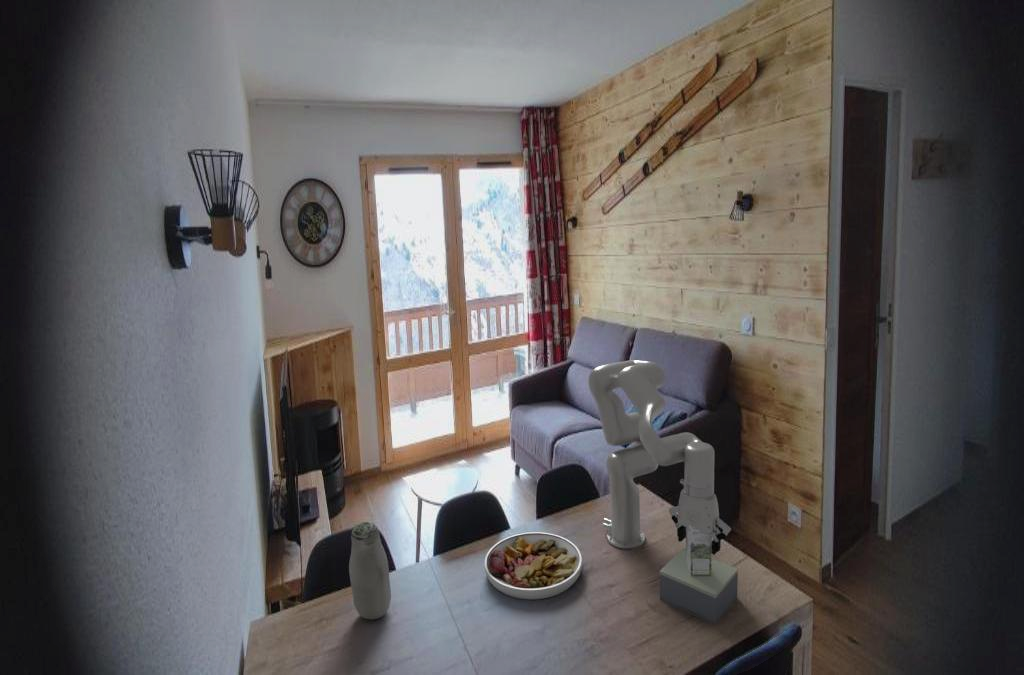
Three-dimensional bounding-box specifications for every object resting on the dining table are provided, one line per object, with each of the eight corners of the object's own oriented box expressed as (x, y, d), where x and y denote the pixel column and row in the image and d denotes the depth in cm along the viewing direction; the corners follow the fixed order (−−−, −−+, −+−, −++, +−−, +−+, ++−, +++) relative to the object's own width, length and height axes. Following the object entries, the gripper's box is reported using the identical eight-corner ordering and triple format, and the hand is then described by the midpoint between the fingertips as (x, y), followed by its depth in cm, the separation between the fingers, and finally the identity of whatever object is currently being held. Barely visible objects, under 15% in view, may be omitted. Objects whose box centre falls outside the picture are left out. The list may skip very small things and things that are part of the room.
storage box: (659, 599, 155) (659, 574, 153) (683, 575, 164) (683, 551, 163) (715, 625, 144) (715, 598, 142) (737, 598, 153) (737, 572, 152)
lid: (659, 573, 153) (659, 570, 153) (683, 551, 163) (683, 548, 163) (715, 598, 142) (715, 594, 142) (737, 572, 152) (737, 568, 152)
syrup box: (706, 563, 155) (706, 516, 152) (712, 576, 149) (711, 527, 146) (685, 563, 155) (685, 516, 153) (690, 576, 150) (689, 527, 147)
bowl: (558, 537, 189) (557, 516, 188) (599, 589, 161) (599, 565, 160) (474, 558, 180) (472, 536, 178) (502, 617, 152) (500, 592, 151)
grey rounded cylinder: (349, 623, 153) (336, 531, 148) (371, 599, 162) (360, 512, 157) (378, 630, 149) (367, 537, 144) (399, 606, 159) (389, 517, 153)
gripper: (662, 484, 151) (662, 540, 154) (724, 503, 139) (723, 564, 142) (676, 474, 156) (675, 529, 160) (736, 492, 144) (735, 551, 148)
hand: (698, 545), depth 151 cm, fingers open, 9 cm apart
